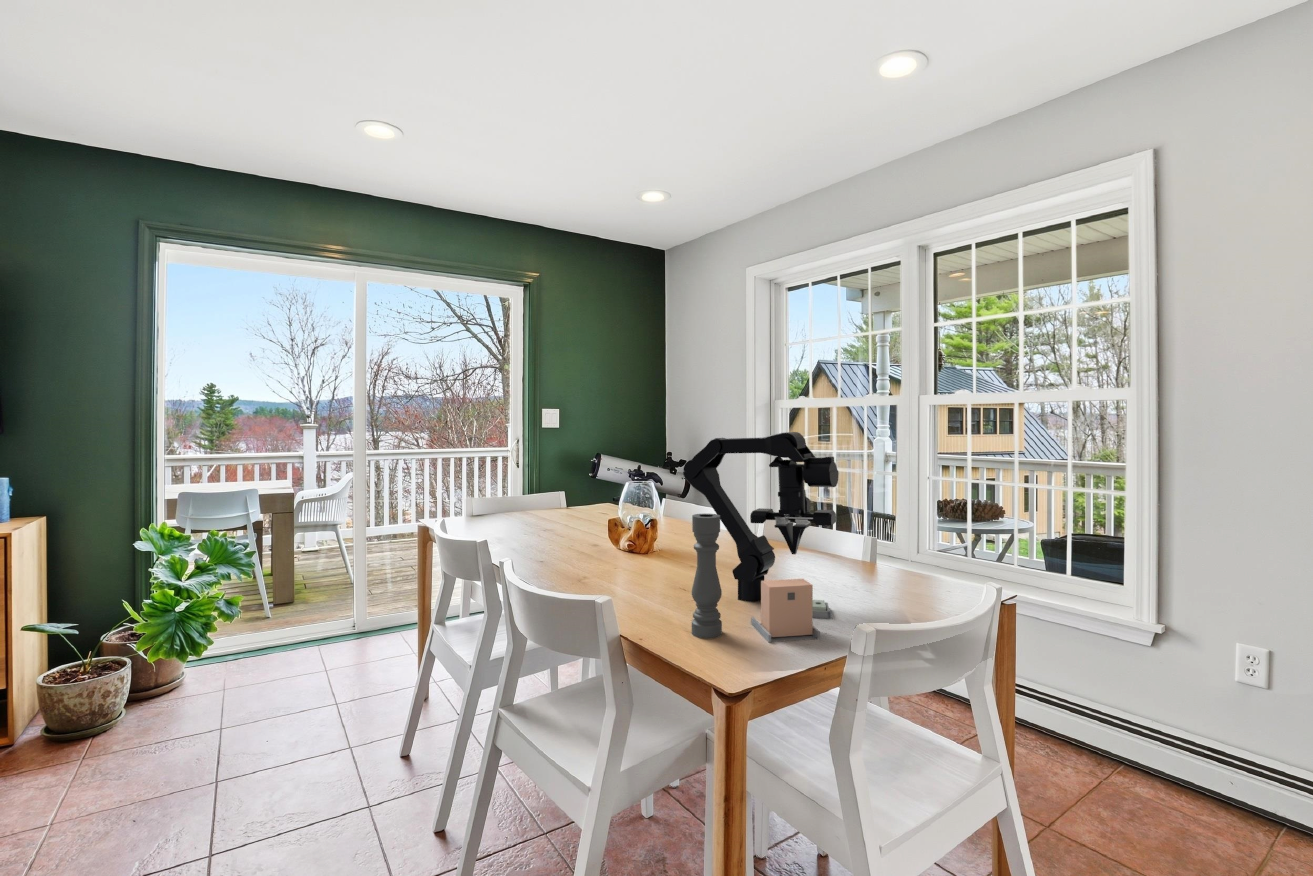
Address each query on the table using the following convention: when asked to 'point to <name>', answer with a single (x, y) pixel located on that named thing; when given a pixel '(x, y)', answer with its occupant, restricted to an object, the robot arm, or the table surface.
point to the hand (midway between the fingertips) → (794, 554)
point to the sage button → (819, 605)
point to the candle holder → (706, 577)
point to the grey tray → (786, 638)
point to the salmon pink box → (787, 607)
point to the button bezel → (823, 613)
